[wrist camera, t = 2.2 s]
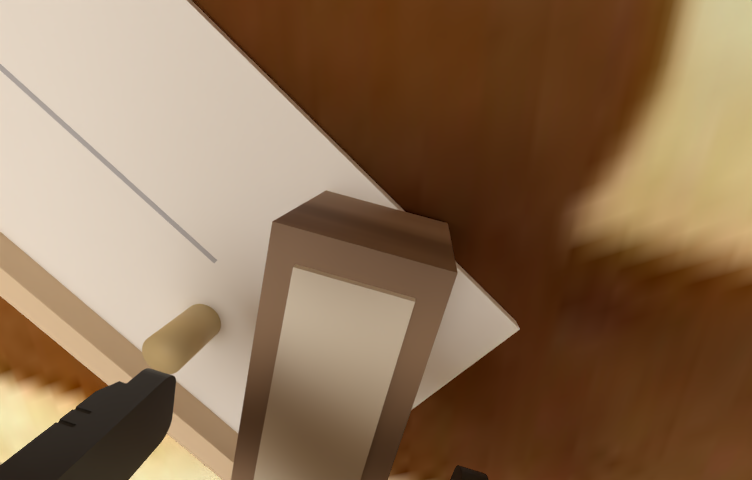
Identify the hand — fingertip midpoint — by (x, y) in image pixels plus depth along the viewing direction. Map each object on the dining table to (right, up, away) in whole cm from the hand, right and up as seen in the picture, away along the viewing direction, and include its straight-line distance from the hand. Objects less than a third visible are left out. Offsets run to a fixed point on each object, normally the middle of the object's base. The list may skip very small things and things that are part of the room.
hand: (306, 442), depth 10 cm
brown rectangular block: (+1, +2, +5) cm, 5 cm away
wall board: (-6, +6, +5) cm, 10 cm away
